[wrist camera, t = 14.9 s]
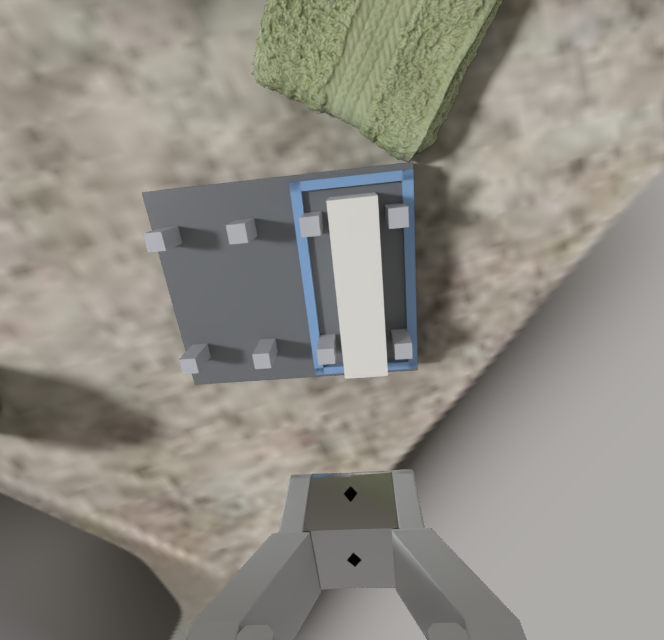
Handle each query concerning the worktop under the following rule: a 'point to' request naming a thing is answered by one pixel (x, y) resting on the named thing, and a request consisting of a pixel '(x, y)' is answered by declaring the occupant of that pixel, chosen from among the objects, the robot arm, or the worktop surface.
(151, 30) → the worktop surface
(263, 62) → the washcloth
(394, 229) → the board
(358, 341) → the bar
